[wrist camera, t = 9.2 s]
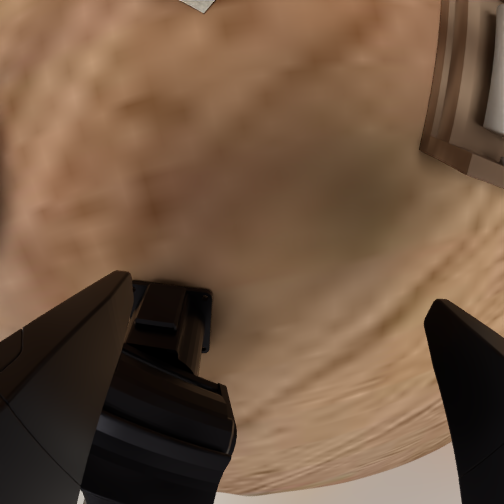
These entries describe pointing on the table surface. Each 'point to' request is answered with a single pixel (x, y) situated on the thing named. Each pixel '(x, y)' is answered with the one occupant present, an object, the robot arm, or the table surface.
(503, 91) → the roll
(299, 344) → the table surface
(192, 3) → the condiment
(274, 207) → the table surface
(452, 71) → the cradle
